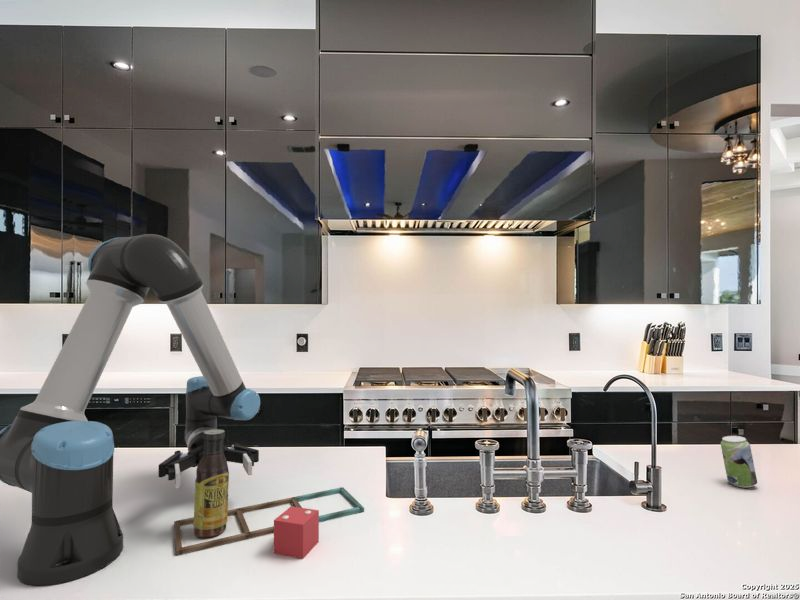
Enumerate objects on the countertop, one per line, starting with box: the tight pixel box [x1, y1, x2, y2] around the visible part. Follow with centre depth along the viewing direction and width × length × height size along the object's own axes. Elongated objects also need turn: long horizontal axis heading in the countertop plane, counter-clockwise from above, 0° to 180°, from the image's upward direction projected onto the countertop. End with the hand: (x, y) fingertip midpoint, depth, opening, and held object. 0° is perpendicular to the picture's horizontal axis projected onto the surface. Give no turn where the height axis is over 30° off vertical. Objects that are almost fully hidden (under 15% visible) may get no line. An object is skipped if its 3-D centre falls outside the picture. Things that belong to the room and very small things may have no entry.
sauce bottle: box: [193, 428, 230, 539], centre depth 89 cm, size 6×6×20 cm
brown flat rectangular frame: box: [173, 486, 365, 556], centre depth 95 cm, size 37×13×1 cm, turn 118°
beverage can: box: [720, 435, 758, 489], centre depth 112 cm, size 6×7×12 cm
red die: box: [273, 505, 320, 559], centre depth 83 cm, size 6×6×6 cm
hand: (215, 474), depth 91 cm, fingers open, 13 cm apart
